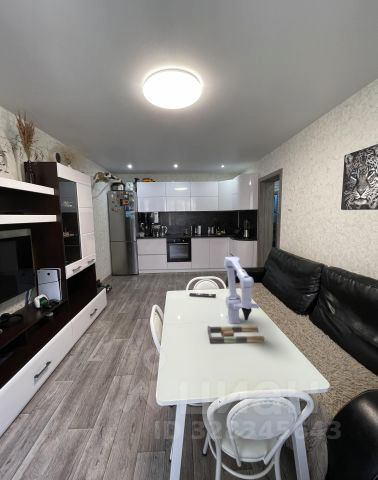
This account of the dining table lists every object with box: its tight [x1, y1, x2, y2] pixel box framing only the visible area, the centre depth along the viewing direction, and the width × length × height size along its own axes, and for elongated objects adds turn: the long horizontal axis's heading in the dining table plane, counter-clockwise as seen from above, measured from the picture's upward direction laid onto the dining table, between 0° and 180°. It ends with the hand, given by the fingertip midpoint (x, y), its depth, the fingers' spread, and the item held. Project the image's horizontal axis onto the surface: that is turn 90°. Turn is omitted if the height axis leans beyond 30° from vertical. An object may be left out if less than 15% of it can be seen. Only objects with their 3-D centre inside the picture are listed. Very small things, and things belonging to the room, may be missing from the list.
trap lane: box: [207, 325, 265, 344], centre depth 128 cm, size 13×31×3 cm, turn 91°
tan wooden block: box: [220, 326, 235, 337], centre depth 127 cm, size 6×6×4 cm
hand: (245, 319), depth 127 cm, fingers closed
